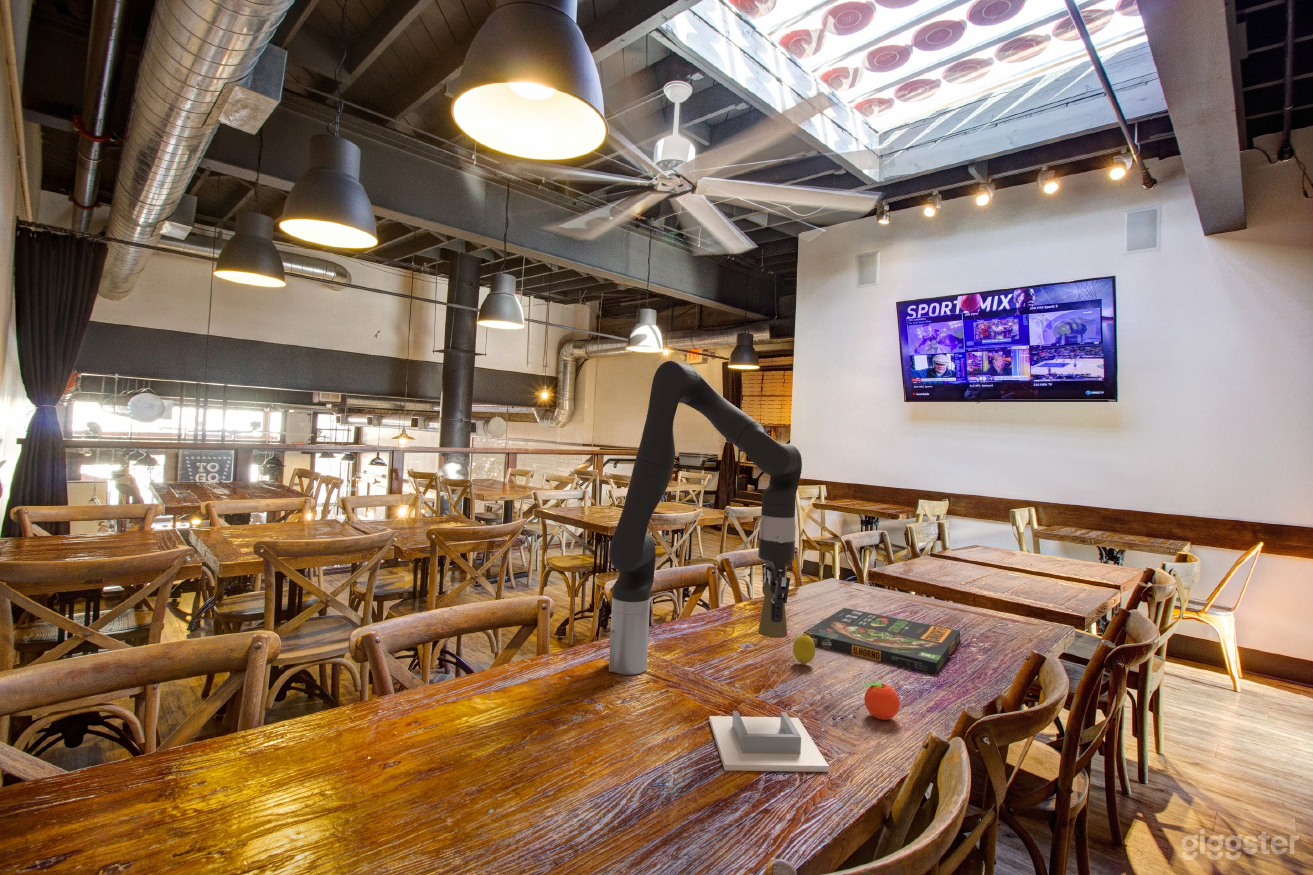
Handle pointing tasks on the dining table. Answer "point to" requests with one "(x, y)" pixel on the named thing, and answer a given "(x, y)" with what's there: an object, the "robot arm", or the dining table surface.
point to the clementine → (881, 701)
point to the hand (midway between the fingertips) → (773, 617)
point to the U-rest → (765, 744)
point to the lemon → (804, 649)
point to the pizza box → (886, 639)
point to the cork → (766, 624)
